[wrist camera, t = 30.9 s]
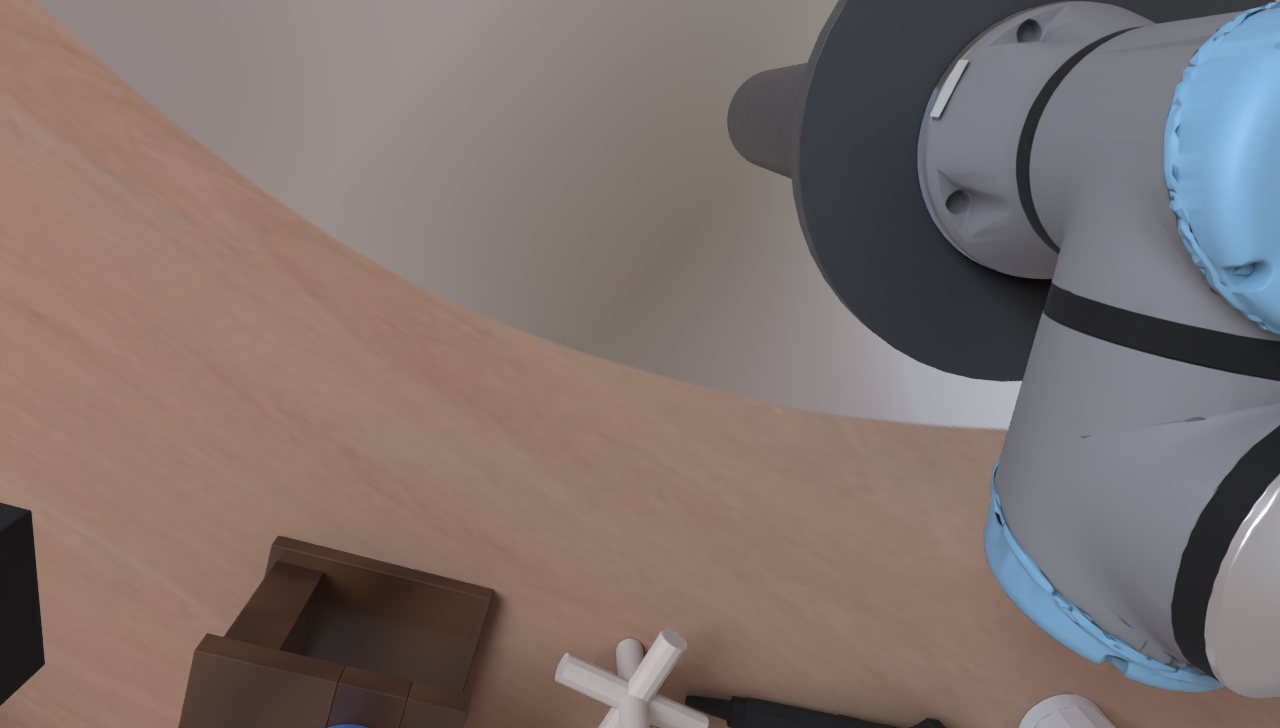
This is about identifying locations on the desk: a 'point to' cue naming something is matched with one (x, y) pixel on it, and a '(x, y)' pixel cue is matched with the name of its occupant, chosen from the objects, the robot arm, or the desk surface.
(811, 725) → the microphone
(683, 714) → the white crossed rods piece
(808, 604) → the desk surface
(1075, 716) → the cup
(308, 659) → the stand
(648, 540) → the desk surface
